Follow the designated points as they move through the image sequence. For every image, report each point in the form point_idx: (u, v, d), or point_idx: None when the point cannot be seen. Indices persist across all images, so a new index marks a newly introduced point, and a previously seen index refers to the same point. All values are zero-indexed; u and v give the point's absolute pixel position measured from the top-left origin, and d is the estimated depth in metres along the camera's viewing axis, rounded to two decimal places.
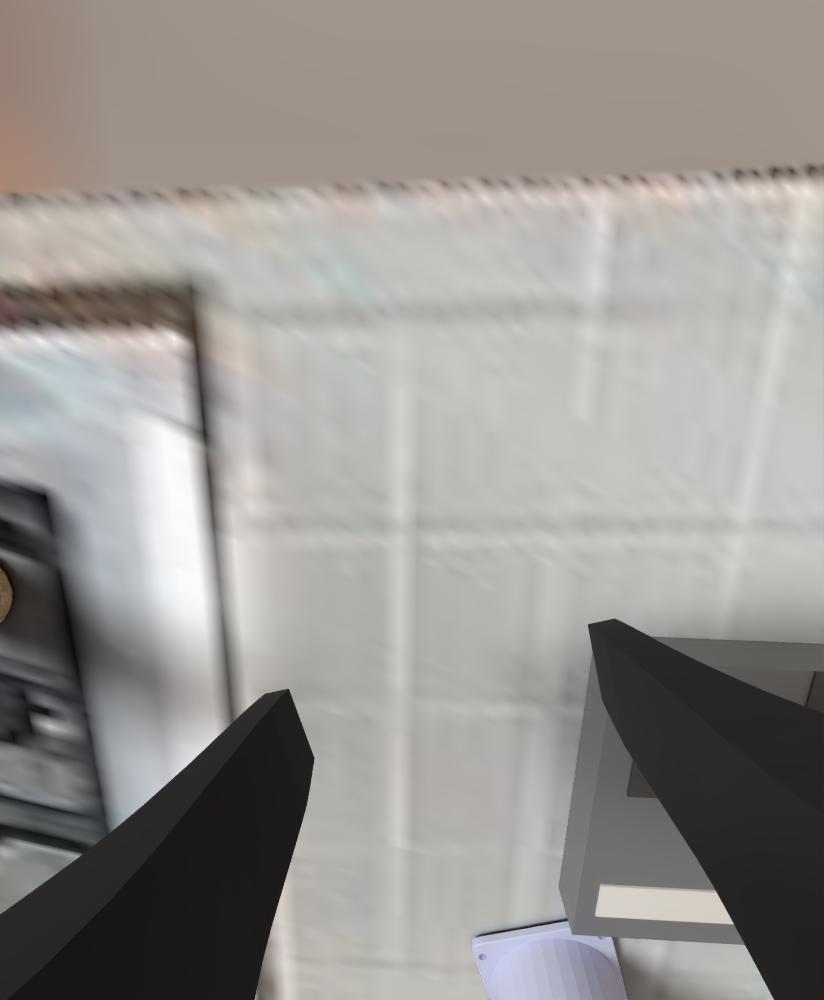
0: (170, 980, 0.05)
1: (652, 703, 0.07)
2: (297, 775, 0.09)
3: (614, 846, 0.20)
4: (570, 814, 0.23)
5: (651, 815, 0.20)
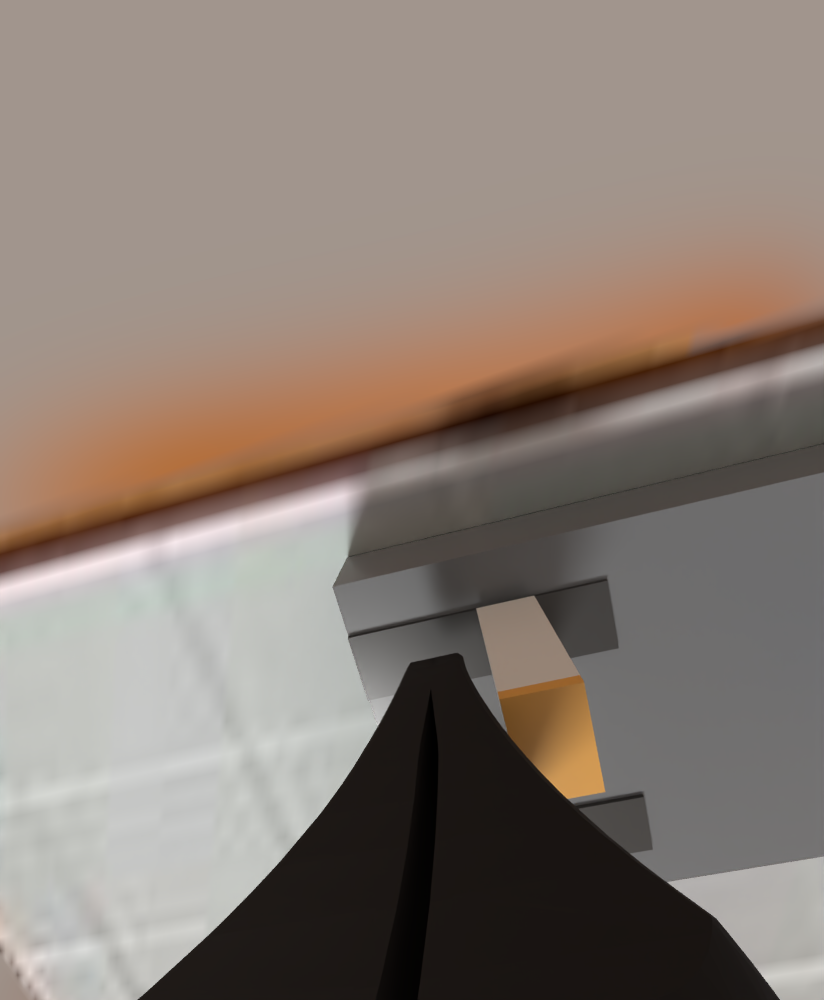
0: None
1: None
2: None
3: (754, 832, 0.13)
4: None
5: (682, 805, 0.12)
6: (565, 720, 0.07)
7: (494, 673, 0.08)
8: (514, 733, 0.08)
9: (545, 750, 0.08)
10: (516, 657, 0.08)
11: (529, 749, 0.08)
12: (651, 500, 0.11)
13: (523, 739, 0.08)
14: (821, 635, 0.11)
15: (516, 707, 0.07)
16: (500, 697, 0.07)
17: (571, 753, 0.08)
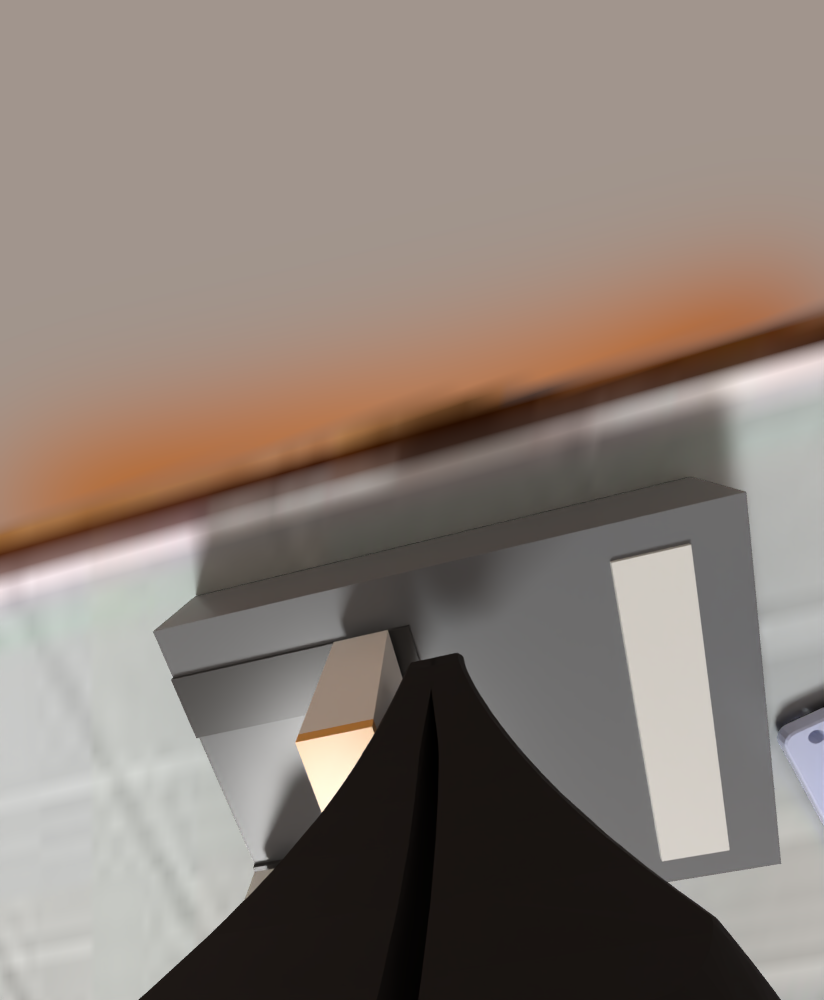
0: None
1: None
2: None
3: None
4: None
5: None
6: None
7: (307, 714, 0.09)
8: (312, 774, 0.08)
9: None
10: (335, 697, 0.09)
11: (330, 788, 0.08)
12: (459, 547, 0.12)
13: (321, 779, 0.08)
14: (619, 677, 0.12)
15: (311, 750, 0.08)
16: (297, 740, 0.08)
17: None
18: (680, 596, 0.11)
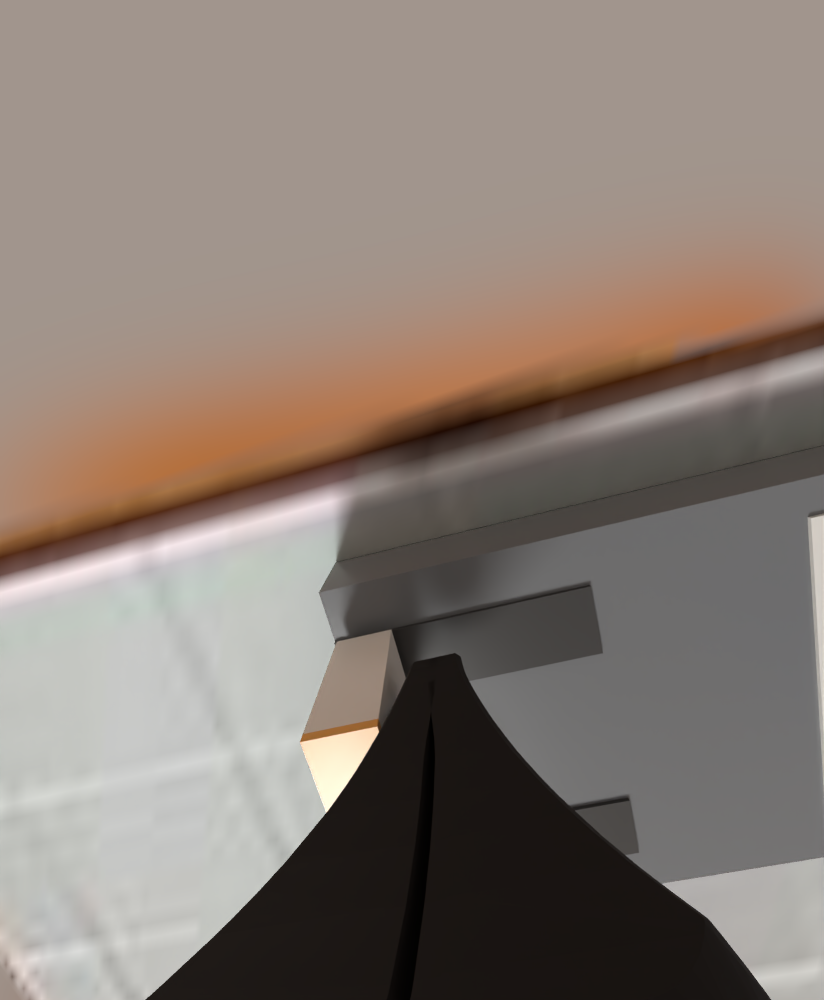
0: None
1: None
2: None
3: (740, 835, 0.13)
4: None
5: (668, 808, 0.13)
6: None
7: (311, 713, 0.09)
8: (317, 774, 0.08)
9: None
10: (339, 697, 0.09)
11: (334, 788, 0.08)
12: (634, 505, 0.11)
13: (326, 779, 0.08)
14: (804, 640, 0.11)
15: (316, 749, 0.08)
16: (302, 740, 0.08)
17: None
18: None
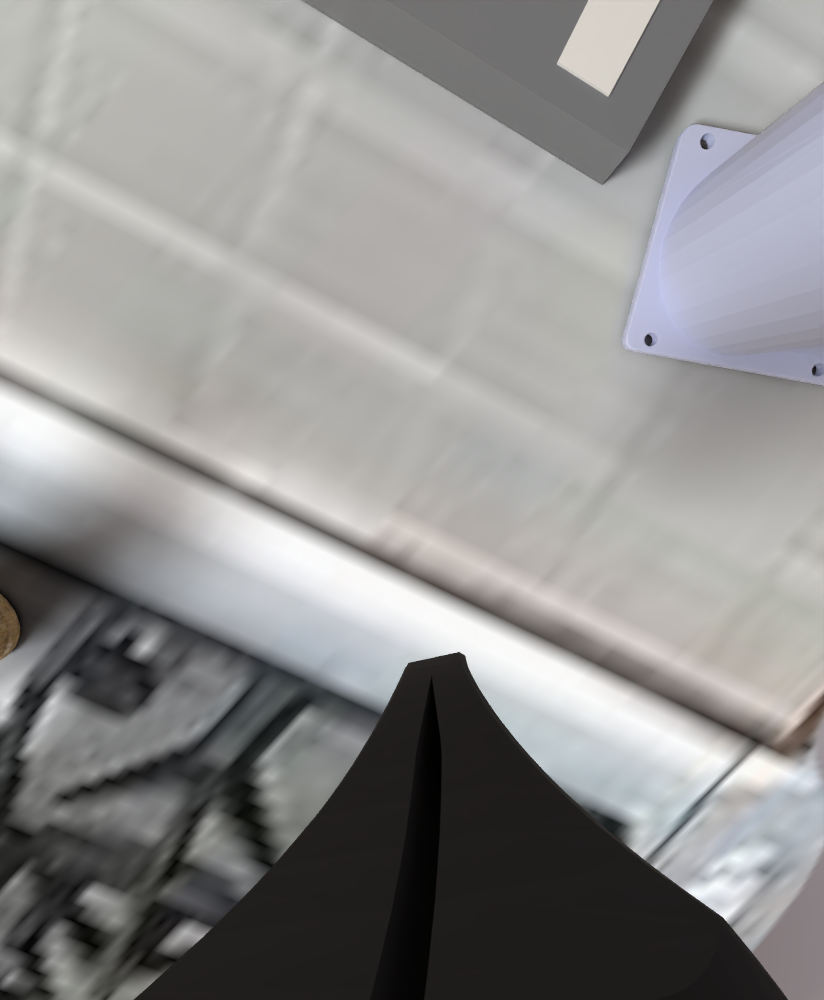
0: None
1: None
2: None
3: (497, 11, 0.14)
4: (484, 109, 0.16)
5: None
6: None
7: None
8: None
9: None
10: None
11: None
12: None
13: None
14: None
15: None
16: None
17: None
18: None
